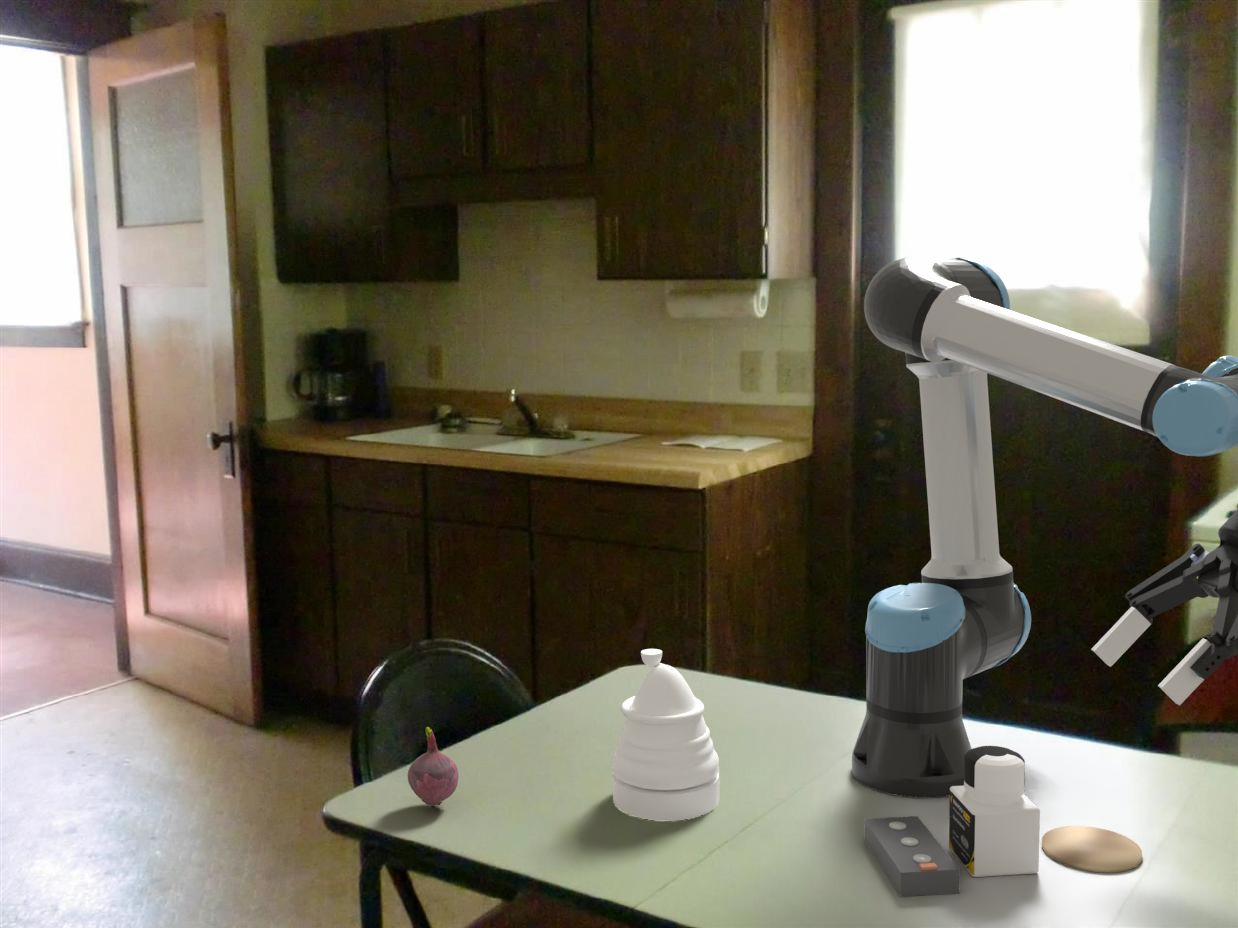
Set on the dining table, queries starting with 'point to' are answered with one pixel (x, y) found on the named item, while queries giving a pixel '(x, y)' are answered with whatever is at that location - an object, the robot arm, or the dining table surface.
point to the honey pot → (665, 750)
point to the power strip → (911, 856)
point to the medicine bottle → (994, 815)
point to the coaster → (1091, 849)
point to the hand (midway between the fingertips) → (1132, 676)
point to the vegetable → (433, 774)
